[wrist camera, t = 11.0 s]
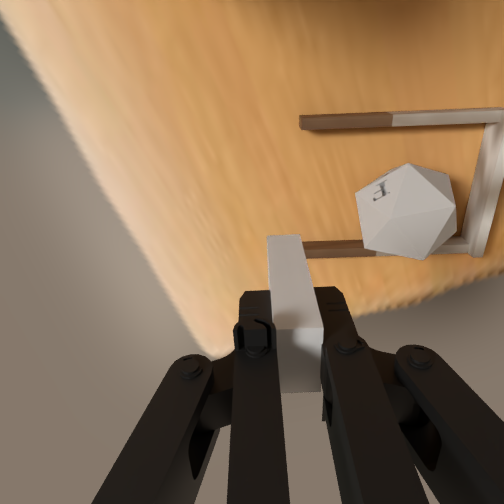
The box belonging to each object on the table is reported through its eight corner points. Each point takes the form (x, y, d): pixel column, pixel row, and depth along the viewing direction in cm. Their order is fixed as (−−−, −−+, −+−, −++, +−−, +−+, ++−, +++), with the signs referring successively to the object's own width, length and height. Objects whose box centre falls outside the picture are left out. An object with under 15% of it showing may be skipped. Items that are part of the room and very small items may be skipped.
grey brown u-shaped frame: (299, 115, 35) (303, 119, 33) (500, 107, 35) (521, 111, 32) (297, 250, 42) (300, 263, 39) (467, 244, 41) (482, 257, 39)
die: (438, 146, 37) (413, 142, 29) (482, 227, 37) (470, 246, 29) (362, 189, 42) (324, 195, 34) (400, 261, 42) (369, 285, 34)
